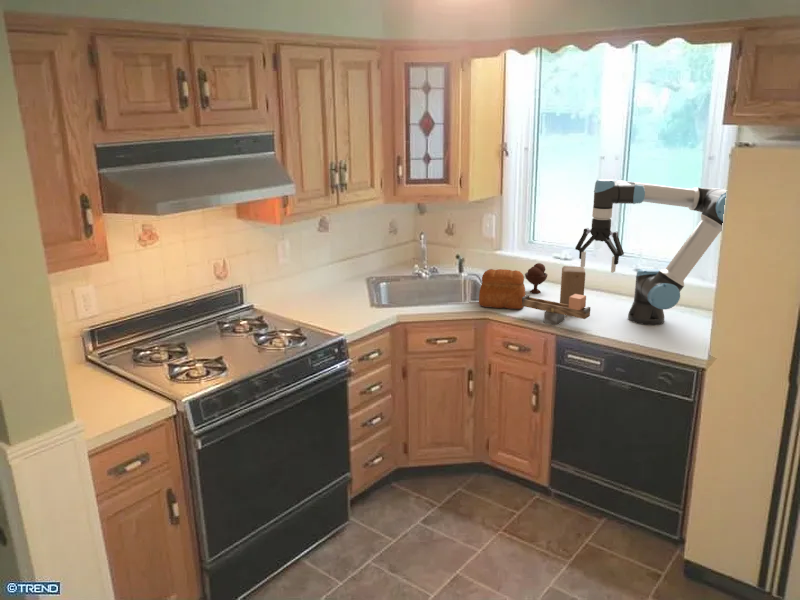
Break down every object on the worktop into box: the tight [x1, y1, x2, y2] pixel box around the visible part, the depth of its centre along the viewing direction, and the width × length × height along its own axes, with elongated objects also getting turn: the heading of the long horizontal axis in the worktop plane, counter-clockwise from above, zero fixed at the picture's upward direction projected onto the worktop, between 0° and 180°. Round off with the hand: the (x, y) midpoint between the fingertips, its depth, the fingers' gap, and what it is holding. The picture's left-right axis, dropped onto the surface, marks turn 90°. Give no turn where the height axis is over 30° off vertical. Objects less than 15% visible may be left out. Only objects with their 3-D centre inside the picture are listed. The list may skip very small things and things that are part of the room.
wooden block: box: [559, 265, 586, 305], centre depth 313 cm, size 10×10×20 cm
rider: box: [569, 294, 587, 310], centre depth 292 cm, size 5×6×6 cm
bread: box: [478, 268, 526, 310], centre depth 323 cm, size 18×21×17 cm
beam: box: [522, 294, 591, 326], centre depth 299 cm, size 30×8×9 cm, turn 52°
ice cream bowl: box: [524, 262, 548, 295], centre depth 342 cm, size 11×11×15 cm
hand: (597, 269), depth 283 cm, fingers open, 12 cm apart
